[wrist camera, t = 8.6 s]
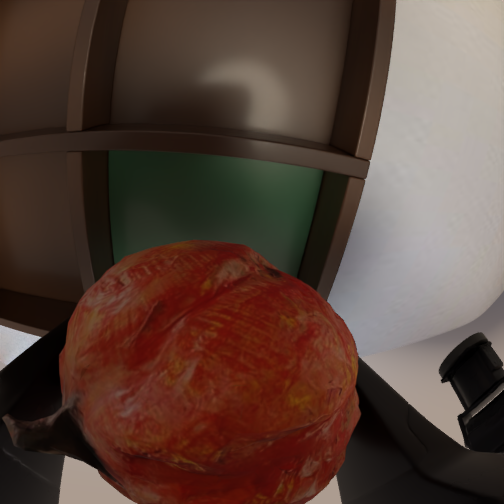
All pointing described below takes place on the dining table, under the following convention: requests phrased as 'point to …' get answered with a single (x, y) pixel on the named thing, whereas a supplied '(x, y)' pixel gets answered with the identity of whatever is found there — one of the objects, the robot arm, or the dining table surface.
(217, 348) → the red round fruit
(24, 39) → the four compartment tray
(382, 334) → the dining table surface
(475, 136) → the dining table surface
